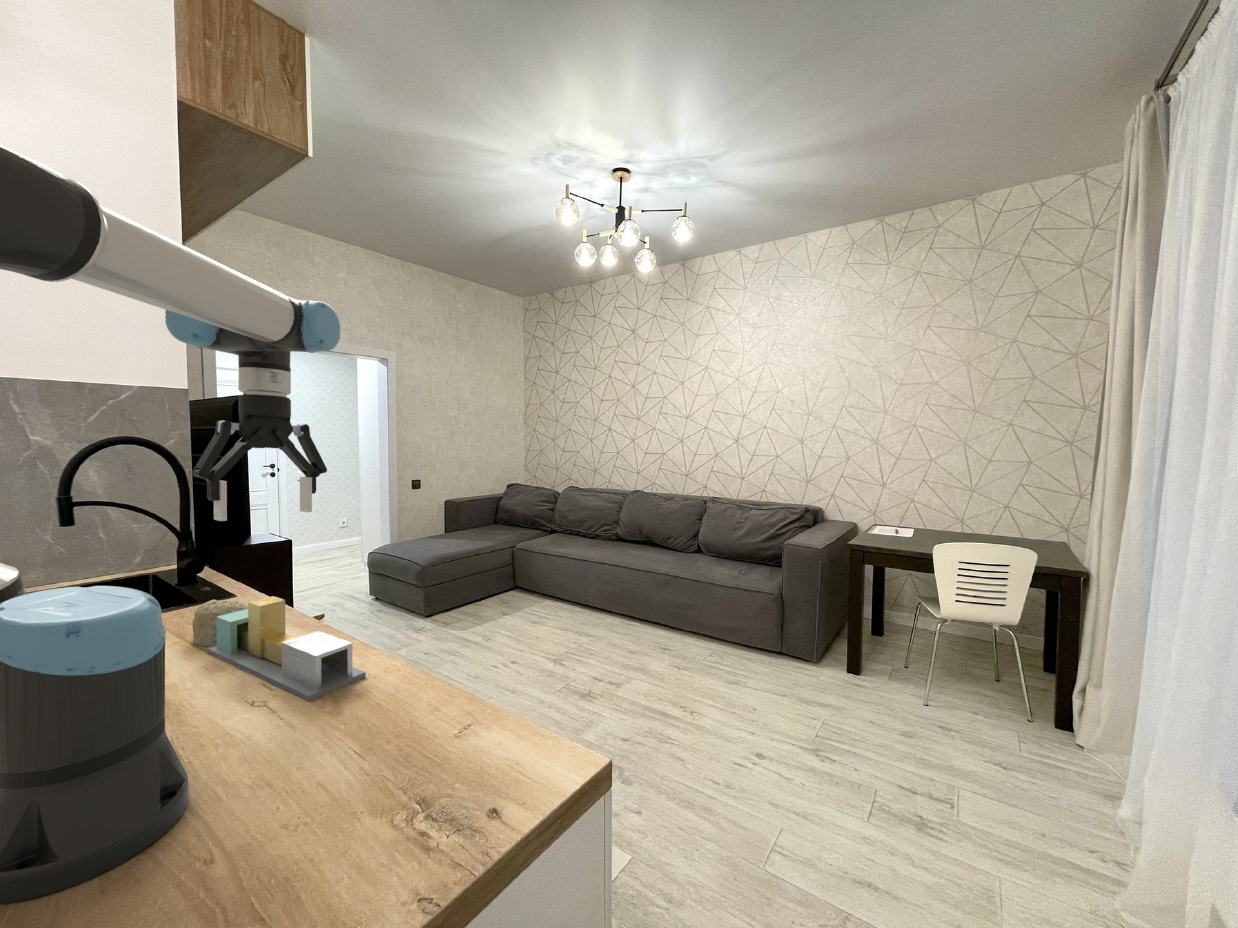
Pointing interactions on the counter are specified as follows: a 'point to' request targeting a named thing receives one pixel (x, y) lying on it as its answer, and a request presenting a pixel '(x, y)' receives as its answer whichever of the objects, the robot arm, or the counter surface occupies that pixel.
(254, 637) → the gold stepped block
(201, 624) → the sponge
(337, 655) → the grey rectangular sleeve
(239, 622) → the socket
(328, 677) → the slate board
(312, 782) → the counter surface
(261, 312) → the robot arm
